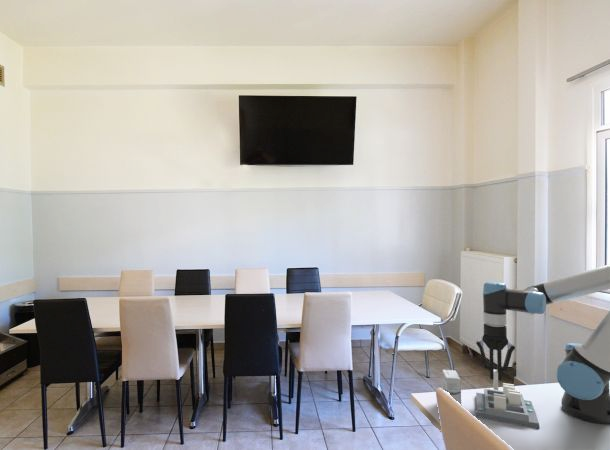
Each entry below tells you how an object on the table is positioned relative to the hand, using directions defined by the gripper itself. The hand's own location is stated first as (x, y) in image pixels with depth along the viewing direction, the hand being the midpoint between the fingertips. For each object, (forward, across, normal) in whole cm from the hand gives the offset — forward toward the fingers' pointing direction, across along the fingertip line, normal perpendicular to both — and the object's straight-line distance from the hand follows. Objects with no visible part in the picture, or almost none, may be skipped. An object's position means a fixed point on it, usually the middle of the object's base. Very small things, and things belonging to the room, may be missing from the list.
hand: (495, 388), depth 132 cm
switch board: (+5, -2, +6) cm, 8 cm away
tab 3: (+4, -5, +6) cm, 9 cm away
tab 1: (+4, -1, +11) cm, 12 cm away
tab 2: (+4, -4, 0) cm, 5 cm away
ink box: (+6, +14, +10) cm, 18 cm away
